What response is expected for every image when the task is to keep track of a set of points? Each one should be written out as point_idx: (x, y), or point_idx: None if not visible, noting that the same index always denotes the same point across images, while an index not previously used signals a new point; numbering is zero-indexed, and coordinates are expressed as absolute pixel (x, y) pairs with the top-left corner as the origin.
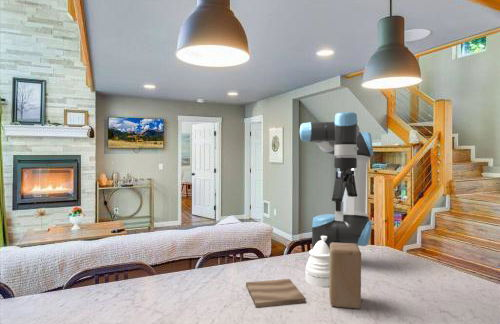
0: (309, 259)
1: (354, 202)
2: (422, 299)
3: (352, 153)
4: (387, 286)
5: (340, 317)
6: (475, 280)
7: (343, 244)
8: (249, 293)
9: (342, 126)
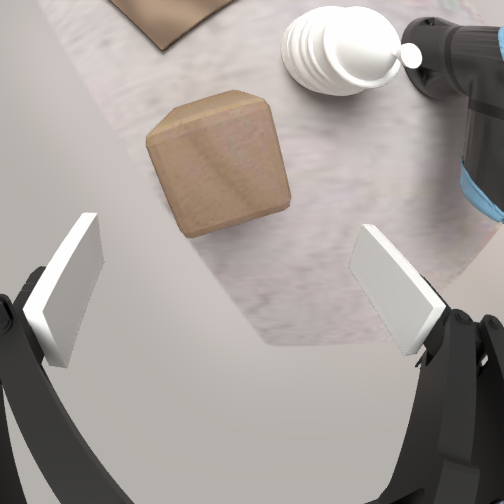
0: (332, 12)
1: (390, 323)
2: (302, 270)
3: None
4: (345, 207)
5: (133, 144)
6: None
7: (245, 163)
8: None
9: None
